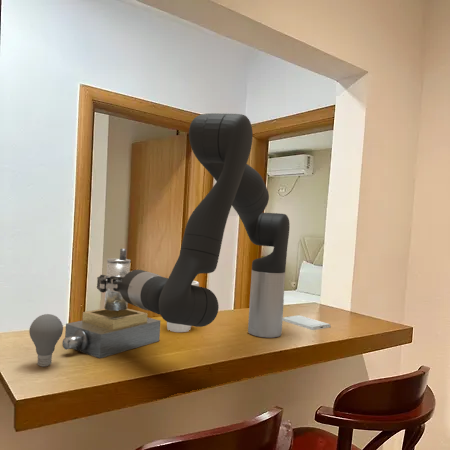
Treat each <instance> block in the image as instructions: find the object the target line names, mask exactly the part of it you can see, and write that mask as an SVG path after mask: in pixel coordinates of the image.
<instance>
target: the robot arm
mask: <svg viewBox="0 0 450 450" xmlns="http://www.w3.org/2000/svg"><path fill="white" fill-rule="evenodd" d="M253 137H254V136H253V128H252V123H251V120H250V118H249V117H248V116H246V115H245V114H242V113H212V112H211V113H203V114H199V115H197V116H196V117H194V118H193V119H192V120H191V122H190V125H189V129H188V139H189V145H190V148H191V150H192V153H193V155H194V157H195V158H196V159H197V161H198V162H199V163H200V164H201V165H202V166H203V168H205V170H206V171H207V172H208V173H209V174H210V175H211V177H212V178H213V179H214V180H215V181H216V182H215V183H214V185H213V187H212V188H211V189H210V190H209V192H208V193H207V194H206V196H204V198H203V199H202V200H201V201H200V202H199V203H198V204H197V206H196V207H195V208H194V209H193V211H192V213H191V214H190V216H189V218H188V220H187V222H186V224H185V229H184V233H183V236H182V241H181V246H180V251H179V256H178V258H177V260H176V262H175V264H174V266H173V268H172V270H171V272H170V274H169V276H168V277H164V276H161V275H160V274H157V273H154V272H151V271H148V270H147V271H146V270H144V269H143V270H142V269H133V270H130V272H129V273H128V274H126V275H125V276H117V275H115V276H111V277H109V276H106V274H100V276H98V277H97V278H96V280H97V282H96V285H97V286H96V288H97V290H98V291H99V292H100V293H104V294H105V292H106V291H107V289H108V288H109V289H110V291H114V292H119V293H120V294H121V296H122V298H123V299H124V300H125V301H126V302H127V303H128V304H129V305H132V306H134V307H137V308H139V309H141V310H144V311H147V312H152V313H154V314H156V315H160V317H161V318H162V319H163V321H165V322H166V323H167V322H169V323H174V324H182V325H188V326H191V327H197V328H202V327H206V326H208V325H210V324H211V323H212V322H214V321H215V319H216V318H217V315H218V313H219V309H220V308H219V301H218V298H217V296H216V294H215V293H214V292H213V291H212V290H211V289H209V288H207V287H203V286H200V285H199V286H195V285H191V284H192V282H193V281H195V278H196V277H197V276H198V275H199V274H211V273H214V272H215V271H216V269H217V267H218V263H219V259H220V254H221V248H222V243H223V238H224V233H225V229H226V225H227V221H228V218H229V214H230V212H231V209H232V208H233V209H234V211H235V212H236V214H237V215H238V217H239V219H240V221H241V222H242V225H243V226H244V229H245V232H246V234H247V236H248V239H249V240H250V242H251V243H252V244H253V245H256V246H262V247H270V248H271V247H273V250H272V252H270V254H267V255H266V256H265V255H264V256H263V257H258V258H255V259H254V260H252V262H251V263H252V264H251V277H250V279H251V280H250V290H249V291H250V294H249V306H248V307H249V309H248V310H249V311H248V326H247V332H248V333H249V335H252V336H255V337H260V338H278V337H281V336H282V332H283V331H282V330H283V322H284V321H283V318H284V304H285V303H284V302H285V301H284V300H285V299H284V297H285V282H286V265H287V256H288V247H289V246H288V245H289V237H290V224H291V223H290V219H289V217H288V214H285V213H277V212H276V213H275V212H264V211H265V209H266V207H267V206H268V203H269V199H270V195H269V191H268V188H267V186H266V184H265V180H264V179H263V177H262V175H261V174H260V172H258V171H257V170H256V169H255V168H254V167H253V166H251V165H249V164H248V161H249V158H250V154H251V150H252V145H253ZM109 282H110V283H109Z"/></svg>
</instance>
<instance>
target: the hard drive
mask: <svg viewBox="0 0 450 450" xmlns="http://www.w3.org/2000/svg"><path fill="white" fill-rule="evenodd" d="M282 322H286V323H288V324H292V325H294V326H299V327H301V328H304V329H307V330H310V331H317V330H322V329H327V328H328V329H329V328H331V324H330V323H327V322H324V321H320V320H317V319H314V318H310V317H308V316H304V315H299V314H298V315H290V316H283V321H282Z"/></svg>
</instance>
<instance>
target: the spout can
mask: <svg viewBox="0 0 450 450" xmlns="http://www.w3.org/2000/svg"><path fill="white" fill-rule="evenodd" d="M130 268H131V259H130V258H129V259H128V258H127V248H120V249H119V257H118V258H117V257H113V258H112V257H111V258H109V257H108V258H106V274H105V275H106V276H109V277H111V276H115V275H117V276H125V275H126V274H128V273H129V272H131V270H130ZM109 283H110V282H109ZM128 304H129V303H127V302H126V301H125V300H124V299H123V298H122V296H121V294H120V293H119V292H114V291H110V289H109V288H108V289H107V291H106V292H104V308H103V309H106V310H114V311H119V310H126V309H127V308H128Z"/></svg>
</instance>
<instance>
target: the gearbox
mask: <svg viewBox="0 0 450 450" xmlns="http://www.w3.org/2000/svg"><path fill="white" fill-rule="evenodd" d="M160 333H161V320H160V319H155V318H152V317H148V313H147V312H143V311H140V310H135V309H132V308H131V309H130V308H128V307H127V309H126V310H119V311H114V310H106V309H104V308H100V309H94V310H88V311H83V312H82V320H78V321H73V322H68V323H65V333H64V335H65V336H64V338H63V339H62V342H61V343H62V347H63V349H64V350H71V349H73V350H75V351H77V352H81V353H84V354H86V355H89V356H92V357H94V358H97V359H102V358H105V357H109V356H112V355H115V354H116V355H117V354H119V353H123V352H127V351H130V350H132V349H136V348H140V347H144V346H147V345H150V344H154V343H156V342H157V343H158V342H159V341H160Z"/></svg>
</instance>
